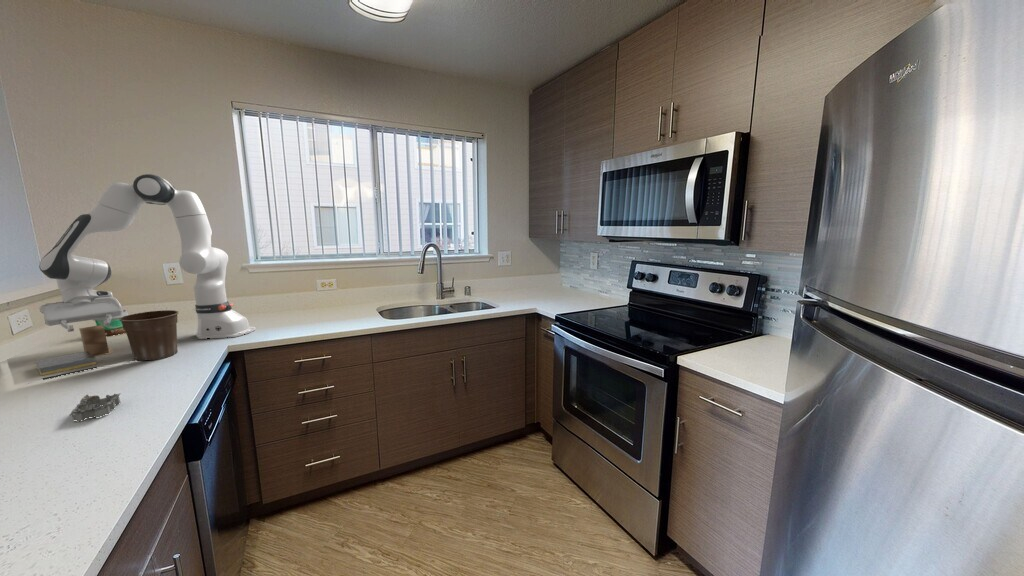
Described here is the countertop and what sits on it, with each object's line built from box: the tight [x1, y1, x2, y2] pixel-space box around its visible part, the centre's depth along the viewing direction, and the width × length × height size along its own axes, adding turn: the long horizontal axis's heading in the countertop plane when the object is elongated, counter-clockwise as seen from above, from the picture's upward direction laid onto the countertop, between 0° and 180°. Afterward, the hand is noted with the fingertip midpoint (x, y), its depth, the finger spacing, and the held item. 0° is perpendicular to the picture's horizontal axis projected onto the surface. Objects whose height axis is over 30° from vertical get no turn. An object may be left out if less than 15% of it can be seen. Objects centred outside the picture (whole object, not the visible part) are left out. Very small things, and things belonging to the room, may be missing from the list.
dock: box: [35, 351, 97, 381], centre depth 130 cm, size 12×12×4 cm
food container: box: [93, 309, 130, 337], centre depth 174 cm, size 12×6×10 cm, turn 168°
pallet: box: [94, 348, 115, 357], centre depth 144 cm, size 8×8×2 cm
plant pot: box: [119, 309, 180, 362], centre depth 143 cm, size 16×16×16 cm
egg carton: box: [68, 393, 121, 422], centre depth 101 cm, size 11×8×4 cm
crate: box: [78, 325, 110, 357], centre depth 143 cm, size 6×6×10 cm
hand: (89, 327), depth 144 cm, fingers open, 8 cm apart
